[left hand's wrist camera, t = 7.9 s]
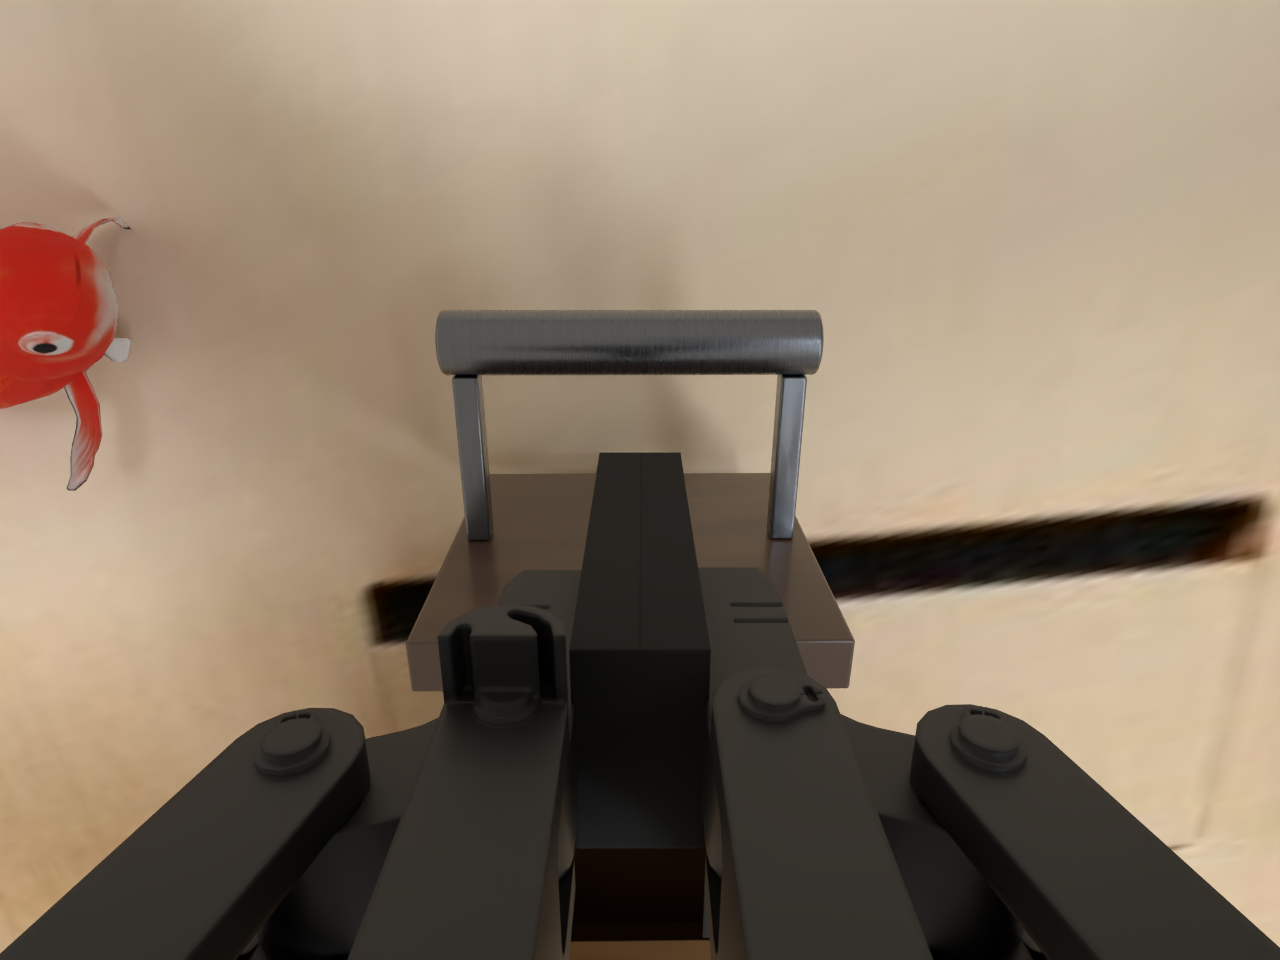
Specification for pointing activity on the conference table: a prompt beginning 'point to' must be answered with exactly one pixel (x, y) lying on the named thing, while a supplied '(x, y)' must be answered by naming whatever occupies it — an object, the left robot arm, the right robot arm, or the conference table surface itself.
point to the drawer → (559, 517)
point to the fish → (57, 326)
